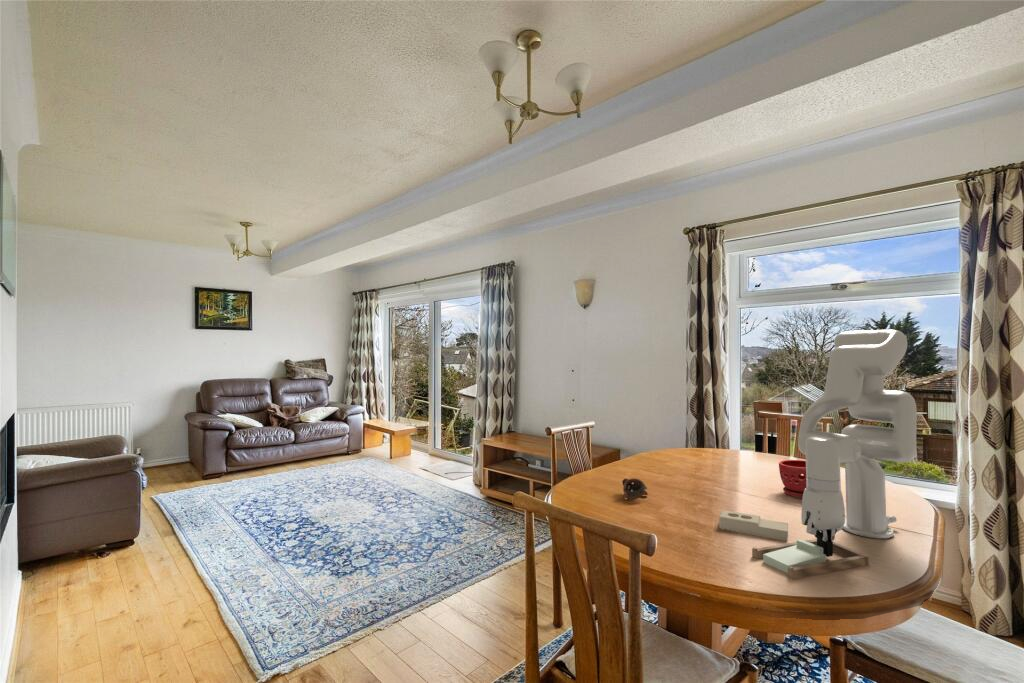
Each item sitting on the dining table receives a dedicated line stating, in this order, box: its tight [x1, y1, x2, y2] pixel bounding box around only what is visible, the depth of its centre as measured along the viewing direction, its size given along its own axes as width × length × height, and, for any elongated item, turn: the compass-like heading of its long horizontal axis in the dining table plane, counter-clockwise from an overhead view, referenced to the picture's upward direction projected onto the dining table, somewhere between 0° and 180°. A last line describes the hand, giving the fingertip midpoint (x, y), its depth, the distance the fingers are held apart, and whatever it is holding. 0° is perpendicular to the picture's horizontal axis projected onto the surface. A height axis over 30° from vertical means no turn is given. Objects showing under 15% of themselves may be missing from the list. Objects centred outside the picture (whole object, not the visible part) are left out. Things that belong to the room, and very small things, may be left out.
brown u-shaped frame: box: [751, 538, 870, 580], centre depth 120 cm, size 24×12×2 cm, turn 106°
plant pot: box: [778, 459, 807, 499], centre depth 172 cm, size 13×13×12 cm
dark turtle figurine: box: [621, 477, 648, 500], centre depth 172 cm, size 12×10×8 cm
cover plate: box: [762, 538, 827, 575], centre depth 119 cm, size 14×7×4 cm, turn 113°
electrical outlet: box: [718, 509, 789, 542], centre depth 140 cm, size 7×4×18 cm
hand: (825, 554), depth 121 cm, fingers closed
